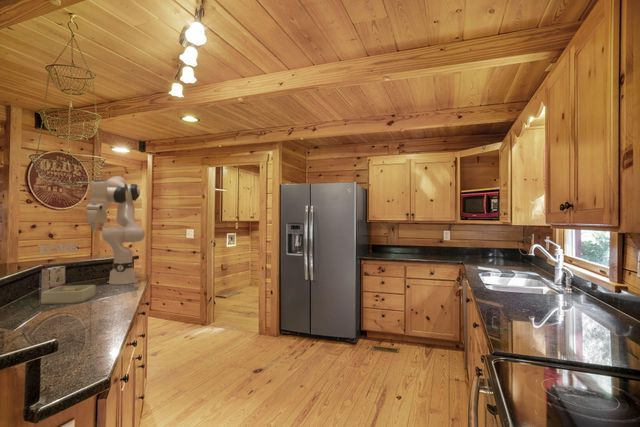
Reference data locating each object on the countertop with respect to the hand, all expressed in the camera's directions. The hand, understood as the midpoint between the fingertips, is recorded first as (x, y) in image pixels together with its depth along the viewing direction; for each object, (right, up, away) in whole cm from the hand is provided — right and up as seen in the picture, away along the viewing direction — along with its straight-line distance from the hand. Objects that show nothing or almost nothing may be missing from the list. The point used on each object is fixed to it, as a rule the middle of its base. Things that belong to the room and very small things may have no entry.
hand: (97, 230), depth 193 cm
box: (-5, -37, -15) cm, 40 cm away
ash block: (-5, -36, -15) cm, 39 cm away
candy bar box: (-19, -37, -8) cm, 42 cm away
